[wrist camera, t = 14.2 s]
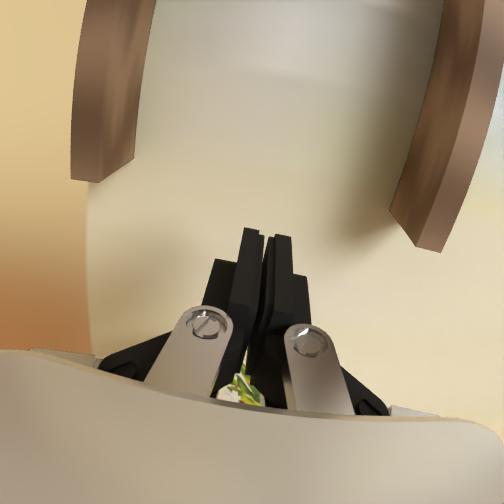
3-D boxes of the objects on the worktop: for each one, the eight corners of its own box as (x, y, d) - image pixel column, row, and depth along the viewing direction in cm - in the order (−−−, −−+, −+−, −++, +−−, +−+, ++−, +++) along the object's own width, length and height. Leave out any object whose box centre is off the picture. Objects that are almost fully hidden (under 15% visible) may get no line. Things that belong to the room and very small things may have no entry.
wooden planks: (171, -126, 7) (149, -158, 3) (473, -56, 8) (510, -72, 4) (109, 155, 16) (70, 178, 12) (411, 216, 17) (440, 252, 13)
